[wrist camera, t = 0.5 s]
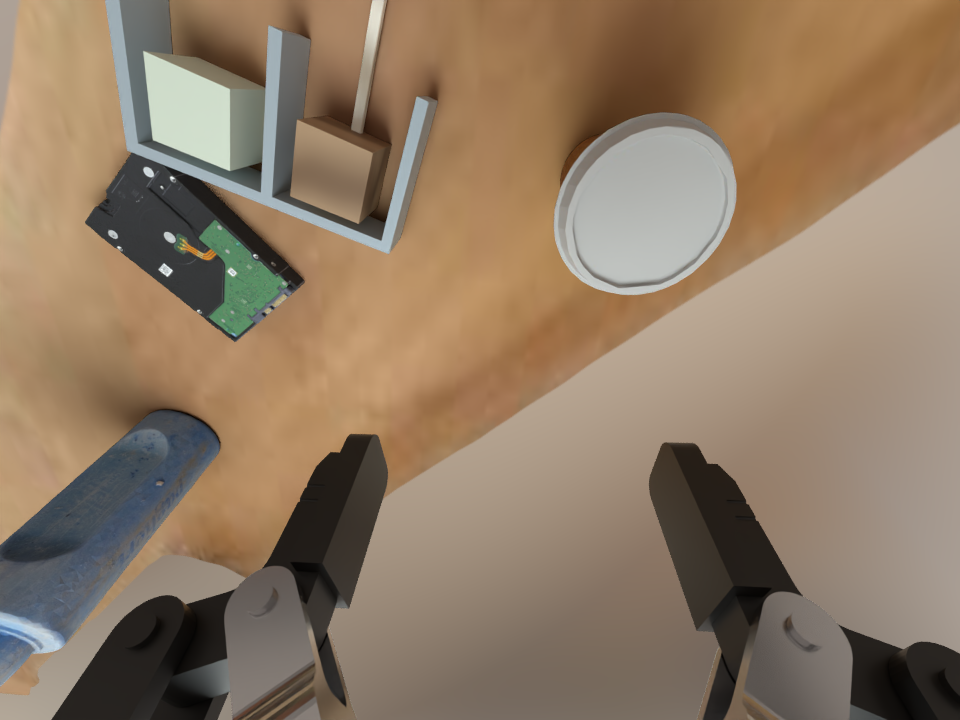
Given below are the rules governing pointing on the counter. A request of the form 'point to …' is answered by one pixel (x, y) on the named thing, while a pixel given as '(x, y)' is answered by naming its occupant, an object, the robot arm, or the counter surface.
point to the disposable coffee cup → (644, 203)
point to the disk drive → (193, 245)
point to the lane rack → (146, 27)
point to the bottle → (94, 533)
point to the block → (205, 110)
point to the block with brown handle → (343, 148)
